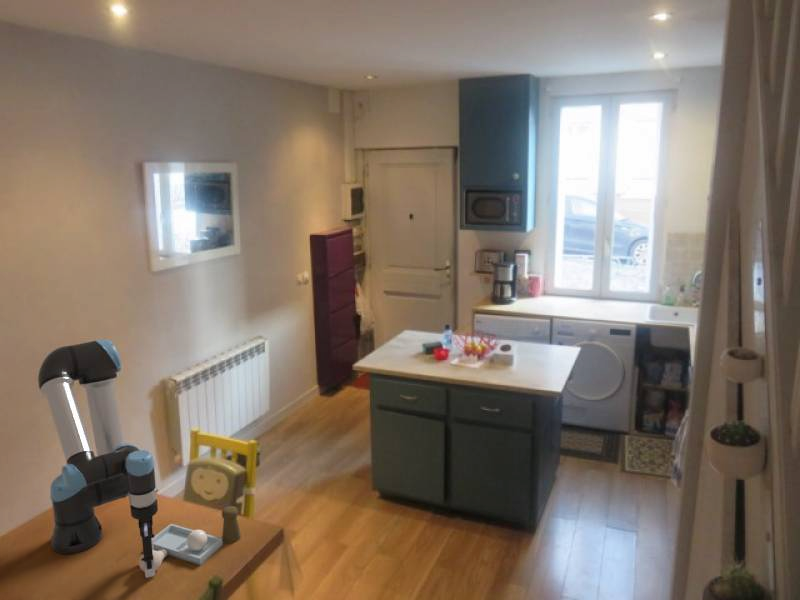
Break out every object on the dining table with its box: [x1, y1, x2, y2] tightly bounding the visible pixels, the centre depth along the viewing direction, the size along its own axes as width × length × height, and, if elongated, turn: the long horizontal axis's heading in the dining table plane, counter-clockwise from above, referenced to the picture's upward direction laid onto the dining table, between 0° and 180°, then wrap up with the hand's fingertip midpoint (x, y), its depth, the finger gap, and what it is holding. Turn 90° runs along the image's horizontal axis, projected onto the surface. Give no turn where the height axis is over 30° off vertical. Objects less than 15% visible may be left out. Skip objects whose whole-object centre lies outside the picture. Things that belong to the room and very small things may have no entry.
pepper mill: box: [221, 505, 242, 544], centre depth 207 cm, size 6×6×11 cm
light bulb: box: [138, 549, 168, 573], centre depth 193 cm, size 7×7×11 cm
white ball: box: [187, 529, 207, 551], centre depth 200 cm, size 6×6×6 cm
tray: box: [151, 523, 224, 566], centre depth 203 cm, size 21×11×2 cm, turn 68°
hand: (150, 567), depth 192 cm, fingers closed on light bulb, 8 cm apart
